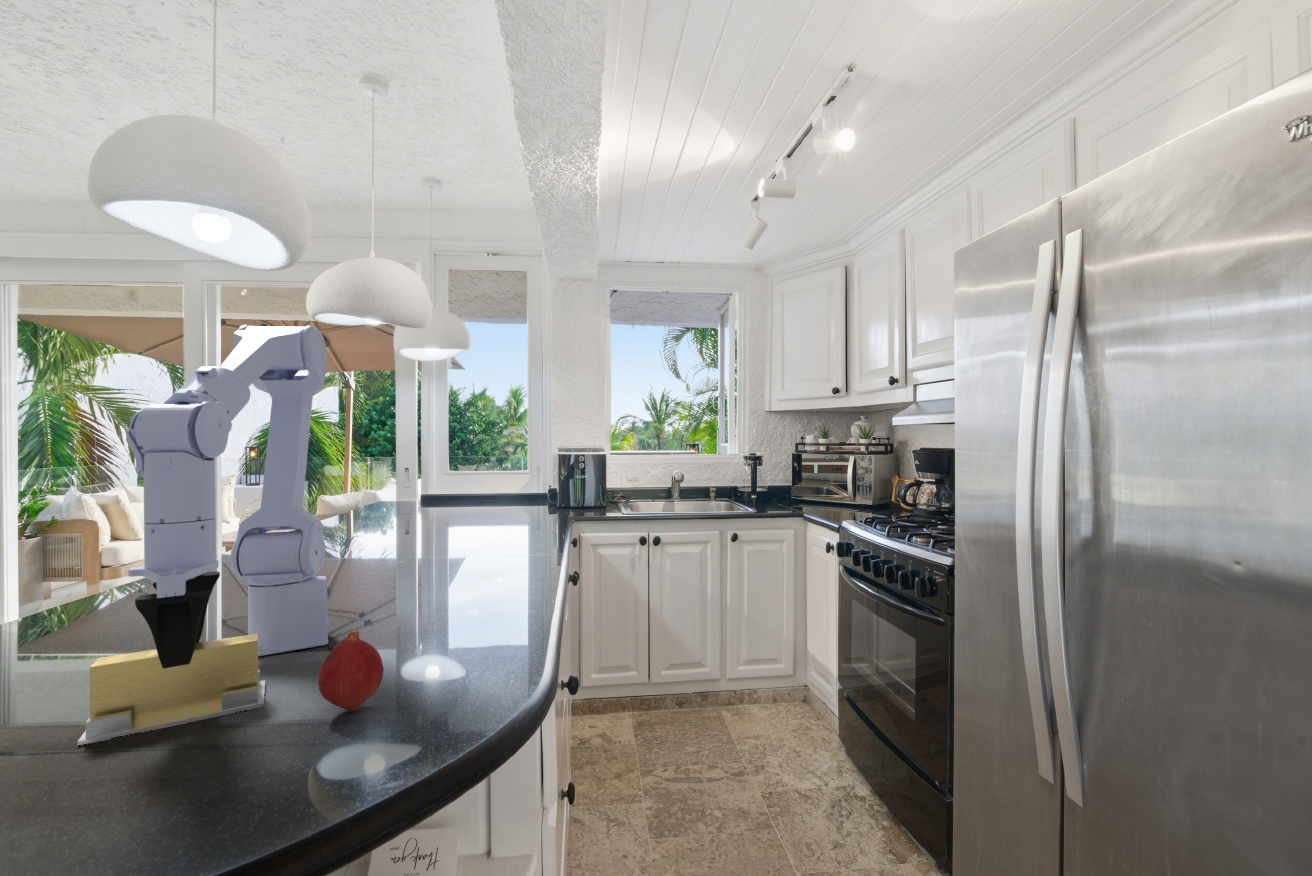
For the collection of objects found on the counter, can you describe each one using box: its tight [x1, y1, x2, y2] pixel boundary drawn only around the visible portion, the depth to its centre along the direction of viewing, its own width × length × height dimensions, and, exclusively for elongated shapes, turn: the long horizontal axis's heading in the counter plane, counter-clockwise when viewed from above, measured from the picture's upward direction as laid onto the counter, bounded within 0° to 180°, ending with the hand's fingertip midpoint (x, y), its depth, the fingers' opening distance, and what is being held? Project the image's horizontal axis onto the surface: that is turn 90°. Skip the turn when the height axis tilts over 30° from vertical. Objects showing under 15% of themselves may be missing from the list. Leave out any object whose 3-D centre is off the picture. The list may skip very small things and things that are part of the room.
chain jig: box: [77, 669, 266, 746], centre depth 60 cm, size 14×8×2 cm, turn 123°
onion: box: [317, 630, 384, 712], centre depth 59 cm, size 6×6×8 cm
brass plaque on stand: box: [89, 634, 259, 723], centre depth 60 cm, size 13×3×6 cm, turn 123°
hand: (182, 654), depth 60 cm, fingers open, 7 cm apart
